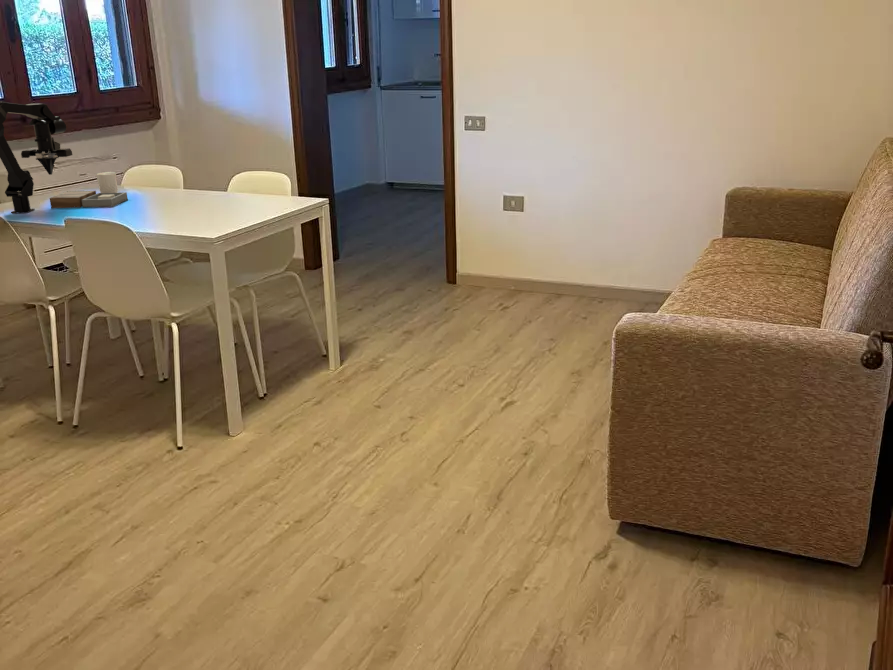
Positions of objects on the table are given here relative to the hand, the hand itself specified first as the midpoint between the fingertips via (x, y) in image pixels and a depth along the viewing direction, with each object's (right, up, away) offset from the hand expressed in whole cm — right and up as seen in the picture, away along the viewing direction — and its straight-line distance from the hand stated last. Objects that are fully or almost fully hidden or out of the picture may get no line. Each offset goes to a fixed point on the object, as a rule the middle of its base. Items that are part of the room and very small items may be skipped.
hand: (50, 174), depth 340 cm
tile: (+22, -8, +1) cm, 24 cm away
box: (+22, -12, +1) cm, 25 cm away
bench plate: (+9, -12, +2) cm, 15 cm away
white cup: (+18, -7, +17) cm, 25 cm away
